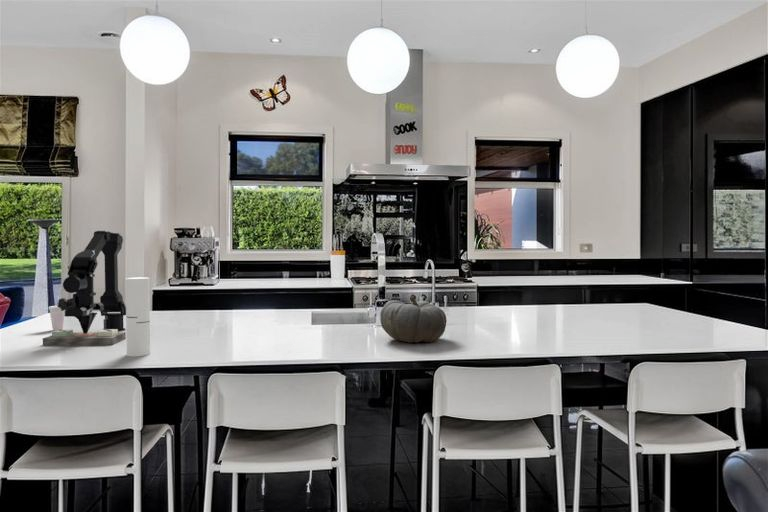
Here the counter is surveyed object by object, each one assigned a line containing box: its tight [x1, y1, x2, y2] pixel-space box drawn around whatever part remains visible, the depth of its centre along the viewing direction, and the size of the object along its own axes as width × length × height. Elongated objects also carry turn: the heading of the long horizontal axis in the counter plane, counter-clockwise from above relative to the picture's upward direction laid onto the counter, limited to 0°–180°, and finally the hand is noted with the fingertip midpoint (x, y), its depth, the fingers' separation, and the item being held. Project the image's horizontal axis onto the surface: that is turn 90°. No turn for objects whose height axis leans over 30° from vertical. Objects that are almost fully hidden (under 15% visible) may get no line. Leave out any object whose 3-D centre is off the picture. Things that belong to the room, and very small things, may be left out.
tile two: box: [51, 329, 74, 337], centre depth 210 cm, size 5×5×3 cm
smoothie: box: [48, 295, 66, 332], centre depth 237 cm, size 6×6×14 cm
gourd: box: [379, 295, 447, 343], centre depth 216 cm, size 25×25×17 cm
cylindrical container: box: [125, 276, 151, 358], centre depth 189 cm, size 7×7×25 cm
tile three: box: [97, 328, 119, 336], centre depth 211 cm, size 5×5×3 cm
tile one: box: [75, 331, 95, 337], centre depth 210 cm, size 5×5×3 cm
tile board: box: [42, 331, 127, 347], centre depth 210 cm, size 24×12×2 cm, turn 94°
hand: (85, 332), depth 210 cm, fingers closed, pressing on tile one
